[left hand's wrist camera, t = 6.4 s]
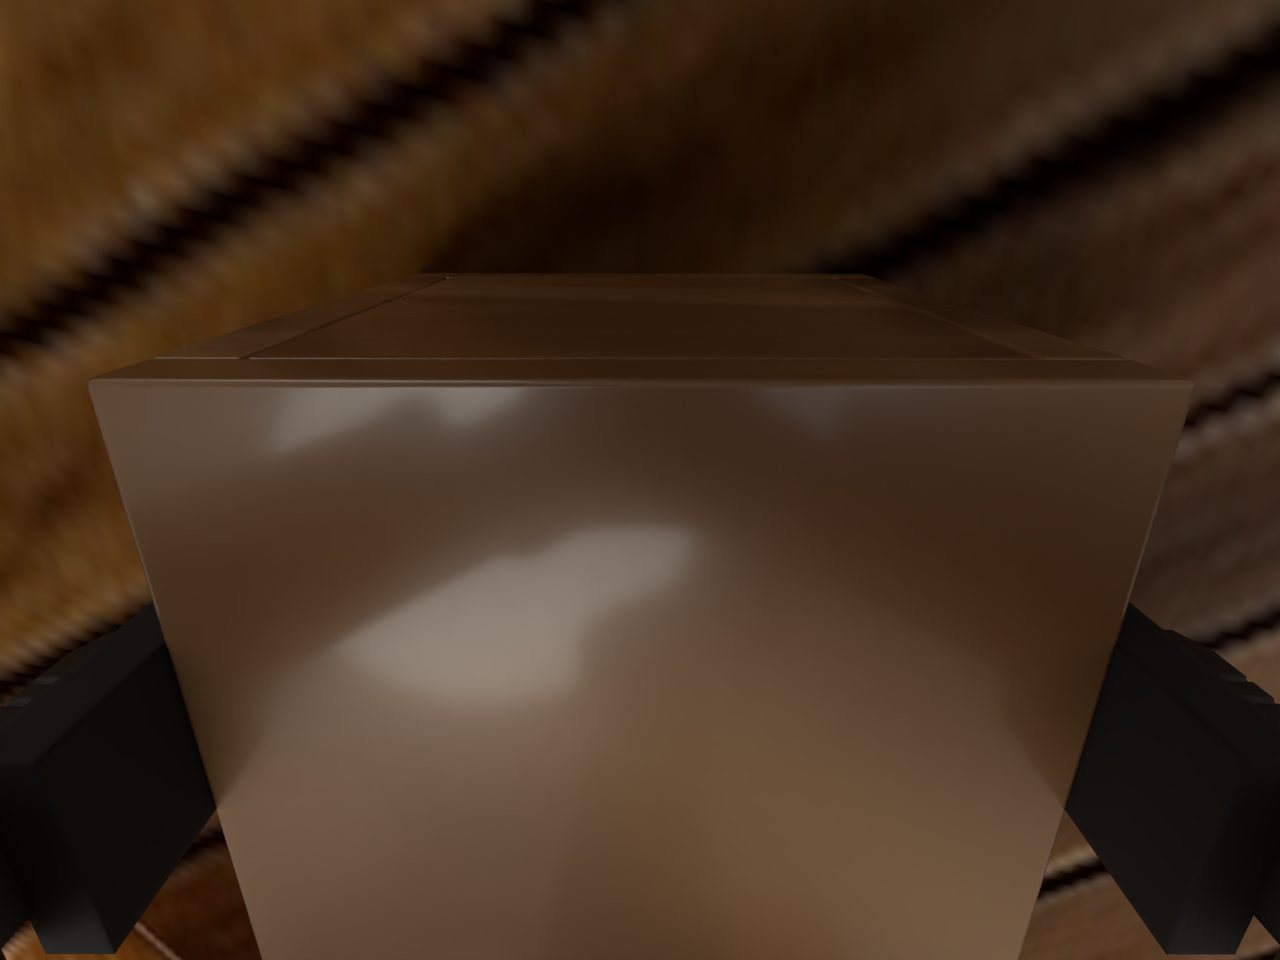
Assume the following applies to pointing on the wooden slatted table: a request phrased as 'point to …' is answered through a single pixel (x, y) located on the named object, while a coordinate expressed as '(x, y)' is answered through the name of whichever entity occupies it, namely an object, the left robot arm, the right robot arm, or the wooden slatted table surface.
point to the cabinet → (640, 609)
